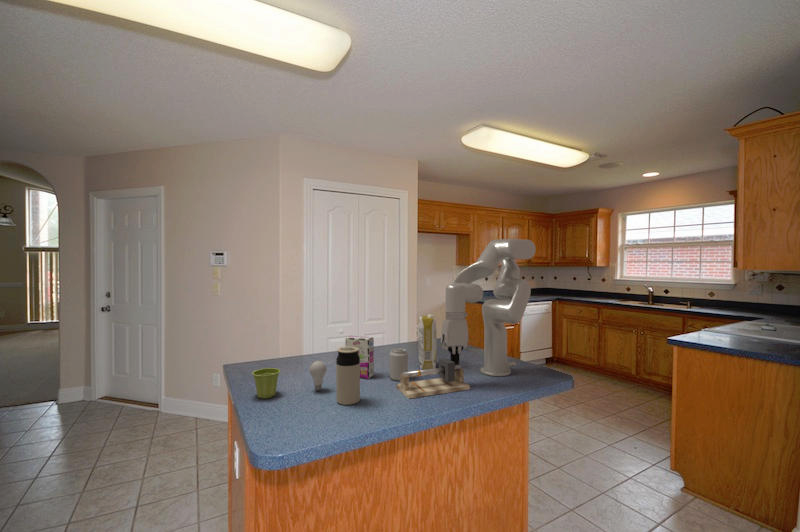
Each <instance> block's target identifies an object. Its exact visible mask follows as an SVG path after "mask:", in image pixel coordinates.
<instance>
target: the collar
mask: <svg viewBox="0 0 800 532" xmlns="http://www.w3.org/2000/svg"><path fill="white" fill-rule="evenodd" d="M455 366H456V365H455V362H453V361H451V359H449V358H447V357H444V358H438V368H442V367H445V373H439V374H438V376H439V377H438V378H442V379H444V380H445V381H447V382H452V381H455Z"/></svg>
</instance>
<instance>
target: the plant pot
mask: <svg viewBox="0 0 800 532" xmlns="http://www.w3.org/2000/svg"><path fill="white" fill-rule="evenodd" d="M280 373H281V370H280V369H279V368H274V367H268V368H260V369H257V370H254V371H253V372H251V375H252V376H253V379H254V384H255V390H256V396H257V398H260V399H270V398H272V397H274V396H276V393H277V384H278V378H279V376H280V375H279V374H280Z"/></svg>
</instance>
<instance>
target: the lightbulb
mask: <svg viewBox="0 0 800 532" xmlns="http://www.w3.org/2000/svg"><path fill="white" fill-rule="evenodd" d="M309 373H310V376H311V377H312V380H313V385H314V390H315V391H317V392H319V391H320V390H322V388H323V387H322V386H323V380H324V376H325V375H326V373H327V365H326V364H325V362H323V361H321V360H316V361H313V362H312V363H311V365H310V367H309Z"/></svg>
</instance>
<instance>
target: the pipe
mask: <svg viewBox="0 0 800 532" xmlns="http://www.w3.org/2000/svg"><path fill="white" fill-rule="evenodd" d="M459 369H463V368H462V366H461V364H458V365H455V371H458V370H459ZM439 373H445V367H442V368H439V367H438V368H437V367H435V368H434V369H416V370H411V371H410V370H409V371H408V372H403V373H402V375H404V376H409V378H414V377H422V376H430V375H436V374H437V375H439Z"/></svg>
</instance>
